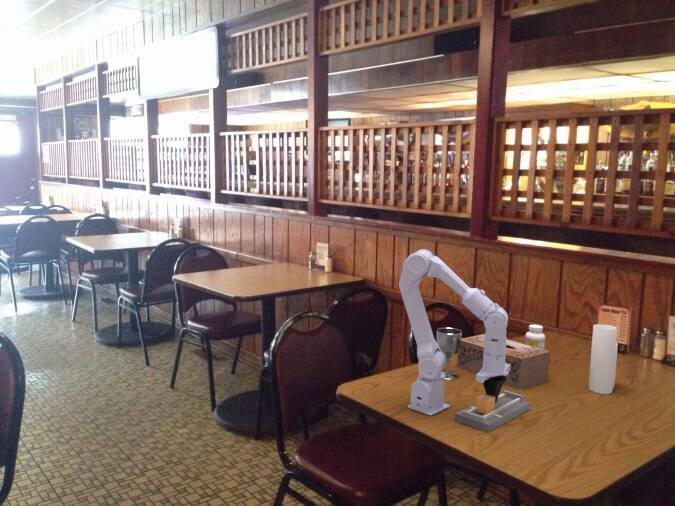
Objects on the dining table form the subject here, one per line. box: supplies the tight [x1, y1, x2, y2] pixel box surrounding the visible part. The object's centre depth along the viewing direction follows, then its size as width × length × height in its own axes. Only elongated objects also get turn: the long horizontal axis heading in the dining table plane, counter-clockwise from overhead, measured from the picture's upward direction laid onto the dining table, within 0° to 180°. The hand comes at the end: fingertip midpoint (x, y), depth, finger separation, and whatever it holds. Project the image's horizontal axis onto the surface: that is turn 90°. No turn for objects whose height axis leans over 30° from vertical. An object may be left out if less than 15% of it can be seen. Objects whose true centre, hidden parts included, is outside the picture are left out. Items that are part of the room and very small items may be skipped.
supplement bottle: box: [524, 324, 546, 350], centre depth 206 cm, size 7×7×13 cm
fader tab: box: [475, 393, 495, 414], centre depth 155 cm, size 4×3×4 cm
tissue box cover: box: [456, 333, 551, 391], centre depth 192 cm, size 26×14×10 cm, turn 35°
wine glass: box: [436, 327, 463, 380], centre depth 189 cm, size 8×8×15 cm
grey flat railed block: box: [454, 389, 531, 433], centre depth 158 cm, size 23×10×3 cm, turn 135°
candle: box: [588, 323, 619, 395], centre depth 180 cm, size 11×7×20 cm, turn 149°
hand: (491, 402), depth 157 cm, fingers closed
